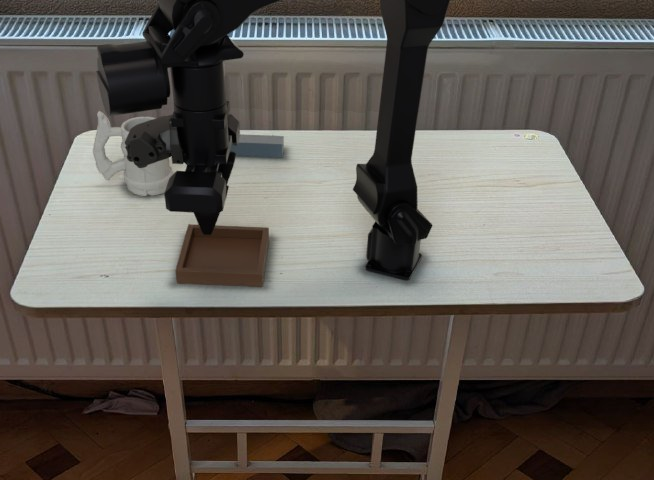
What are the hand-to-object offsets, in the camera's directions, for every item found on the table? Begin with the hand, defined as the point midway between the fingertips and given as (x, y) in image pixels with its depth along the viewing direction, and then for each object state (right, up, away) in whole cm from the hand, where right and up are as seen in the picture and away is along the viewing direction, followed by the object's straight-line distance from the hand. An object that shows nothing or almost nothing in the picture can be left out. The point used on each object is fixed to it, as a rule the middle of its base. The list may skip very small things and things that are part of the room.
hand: (209, 224), depth 101 cm
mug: (-15, +12, +30) cm, 36 cm away
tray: (0, -2, +16) cm, 16 cm away
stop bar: (+1, +20, +39) cm, 44 cm away
